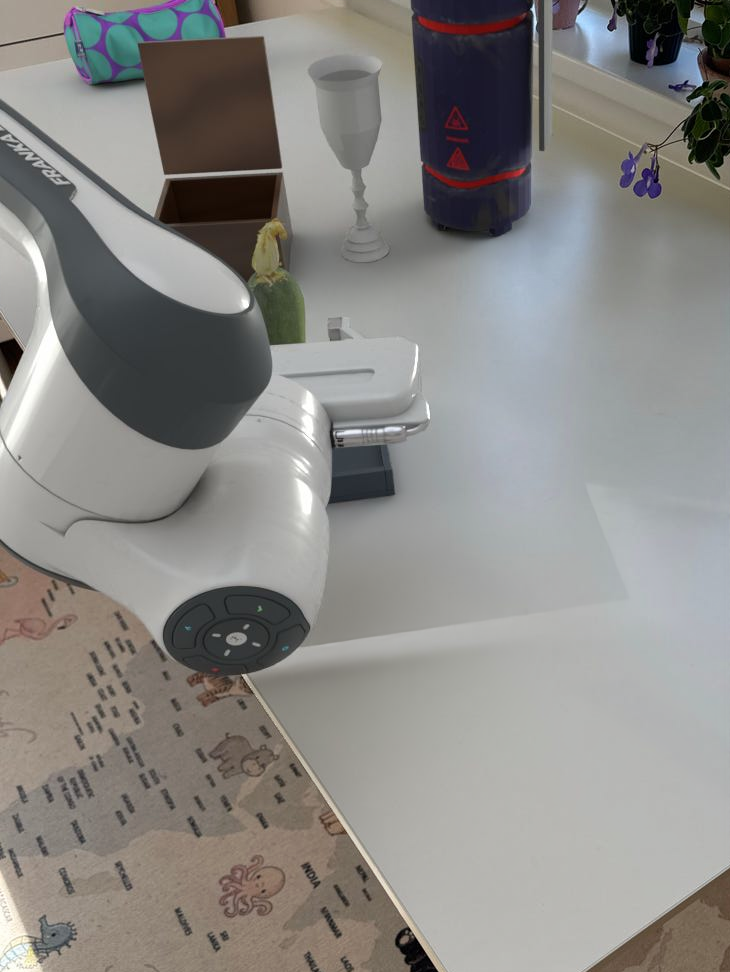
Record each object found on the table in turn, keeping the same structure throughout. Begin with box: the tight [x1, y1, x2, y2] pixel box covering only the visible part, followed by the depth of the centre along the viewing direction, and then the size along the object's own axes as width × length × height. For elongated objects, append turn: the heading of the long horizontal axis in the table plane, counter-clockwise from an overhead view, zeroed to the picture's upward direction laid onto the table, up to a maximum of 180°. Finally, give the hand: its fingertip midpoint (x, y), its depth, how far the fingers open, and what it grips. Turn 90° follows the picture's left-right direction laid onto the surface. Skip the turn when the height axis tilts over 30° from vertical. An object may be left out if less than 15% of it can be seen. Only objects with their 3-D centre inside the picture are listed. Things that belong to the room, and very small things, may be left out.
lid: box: [137, 35, 283, 176], centre depth 105 cm, size 12×12×1 cm
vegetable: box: [247, 218, 307, 345], centre depth 78 cm, size 4×4×20 cm
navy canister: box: [410, 0, 554, 237], centre depth 104 cm, size 14×12×30 cm
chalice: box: [307, 53, 390, 263], centre depth 104 cm, size 7×7×18 cm
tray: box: [328, 444, 396, 504], centre depth 85 cm, size 14×12×2 cm
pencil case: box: [63, 0, 227, 85], centre depth 145 cm, size 21×9×10 cm, turn 116°
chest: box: [153, 171, 293, 283], centre depth 107 cm, size 11×12×7 cm
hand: (271, 331), depth 72 cm, fingers open, 8 cm apart
